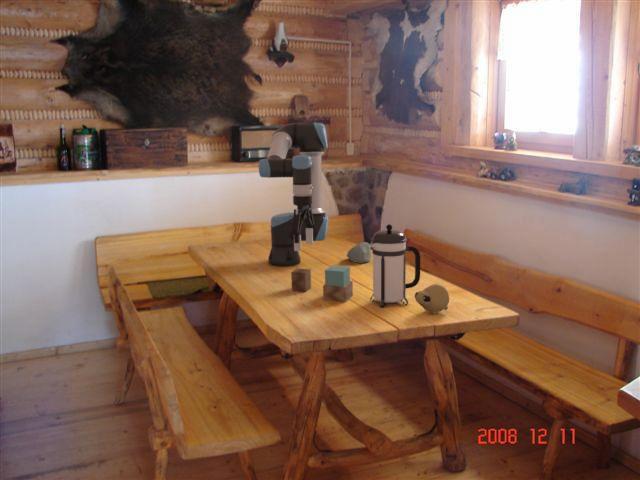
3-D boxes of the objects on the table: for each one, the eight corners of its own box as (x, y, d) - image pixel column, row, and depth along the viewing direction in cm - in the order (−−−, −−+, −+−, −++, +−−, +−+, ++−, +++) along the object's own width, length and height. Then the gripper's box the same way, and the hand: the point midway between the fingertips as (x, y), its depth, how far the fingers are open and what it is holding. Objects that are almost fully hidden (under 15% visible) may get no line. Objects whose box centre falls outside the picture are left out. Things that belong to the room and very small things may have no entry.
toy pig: (410, 311, 249) (410, 283, 247) (438, 306, 254) (438, 278, 252) (425, 319, 240) (425, 289, 238) (454, 314, 245) (454, 285, 243)
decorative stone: (377, 263, 320) (376, 243, 324) (358, 257, 315) (358, 237, 319) (360, 272, 330) (360, 252, 334) (342, 266, 324) (342, 247, 329)
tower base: (323, 300, 265) (323, 285, 263) (330, 294, 273) (330, 279, 272) (345, 302, 262) (345, 287, 260) (352, 296, 270) (352, 281, 269)
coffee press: (401, 311, 250) (401, 230, 243) (362, 304, 258) (361, 226, 252) (420, 298, 264) (421, 221, 258) (383, 293, 272) (383, 218, 266)
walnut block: (291, 291, 278) (291, 272, 276) (297, 287, 283) (296, 268, 282) (305, 292, 276) (305, 273, 274) (310, 288, 281) (310, 269, 280)
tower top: (325, 285, 264) (324, 270, 263) (331, 280, 271) (331, 265, 269) (343, 286, 261) (343, 271, 260) (350, 281, 268) (349, 266, 267)
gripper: (300, 199, 260) (301, 254, 264) (321, 191, 283) (322, 241, 287) (281, 199, 262) (283, 253, 266) (304, 190, 285) (305, 240, 290)
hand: (303, 247), depth 277 cm, fingers open, 13 cm apart
